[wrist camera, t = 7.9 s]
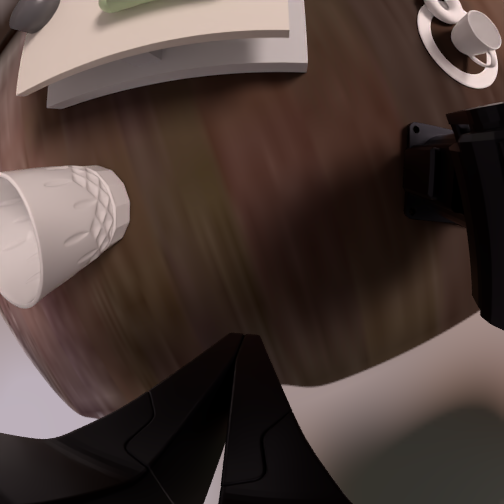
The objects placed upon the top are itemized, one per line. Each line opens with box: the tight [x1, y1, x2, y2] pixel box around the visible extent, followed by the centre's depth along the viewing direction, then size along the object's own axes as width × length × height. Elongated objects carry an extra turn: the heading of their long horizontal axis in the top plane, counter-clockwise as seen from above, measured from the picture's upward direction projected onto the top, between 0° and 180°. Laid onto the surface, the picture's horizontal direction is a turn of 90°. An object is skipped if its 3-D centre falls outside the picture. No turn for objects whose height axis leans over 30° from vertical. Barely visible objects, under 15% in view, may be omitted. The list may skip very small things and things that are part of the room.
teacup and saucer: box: [417, 0, 501, 89], centre depth 10 cm, size 9×8×4 cm
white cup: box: [0, 165, 130, 308], centre depth 16 cm, size 8×8×10 cm
